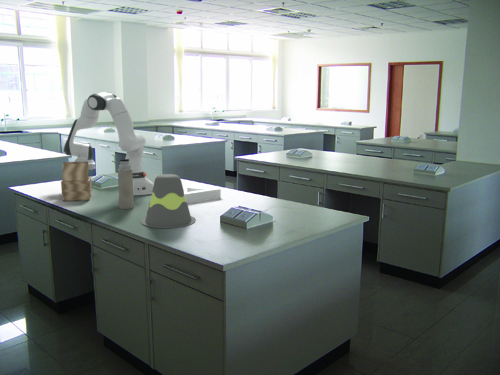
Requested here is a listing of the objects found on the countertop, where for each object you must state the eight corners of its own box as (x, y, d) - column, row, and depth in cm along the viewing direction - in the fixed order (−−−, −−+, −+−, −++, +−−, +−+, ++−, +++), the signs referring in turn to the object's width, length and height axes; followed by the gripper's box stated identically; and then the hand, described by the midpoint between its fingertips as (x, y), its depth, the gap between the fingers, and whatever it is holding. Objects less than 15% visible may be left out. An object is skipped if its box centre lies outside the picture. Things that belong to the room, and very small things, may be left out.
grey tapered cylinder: (160, 212, 246) (159, 169, 242) (205, 217, 236) (204, 173, 232) (129, 224, 221) (127, 177, 216) (178, 231, 211) (177, 182, 206)
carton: (92, 195, 285) (91, 176, 283) (90, 200, 272) (89, 181, 269) (65, 196, 281) (64, 177, 279) (62, 201, 267) (60, 181, 265)
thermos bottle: (122, 205, 260) (120, 158, 254) (135, 205, 259) (133, 158, 253) (117, 208, 252) (114, 160, 246) (130, 209, 251) (128, 160, 246)
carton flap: (88, 162, 277) (88, 161, 276) (87, 180, 269) (87, 179, 268) (63, 162, 273) (63, 161, 272) (62, 181, 265) (62, 180, 265)
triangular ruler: (179, 205, 264) (179, 195, 263) (158, 197, 284) (158, 188, 283) (220, 198, 283) (220, 189, 282) (198, 192, 303) (198, 182, 301)
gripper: (63, 160, 294) (60, 163, 280) (95, 159, 299) (94, 162, 286) (64, 169, 295) (61, 173, 282) (96, 168, 300) (94, 172, 287)
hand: (78, 167), depth 284 cm, fingers closed
